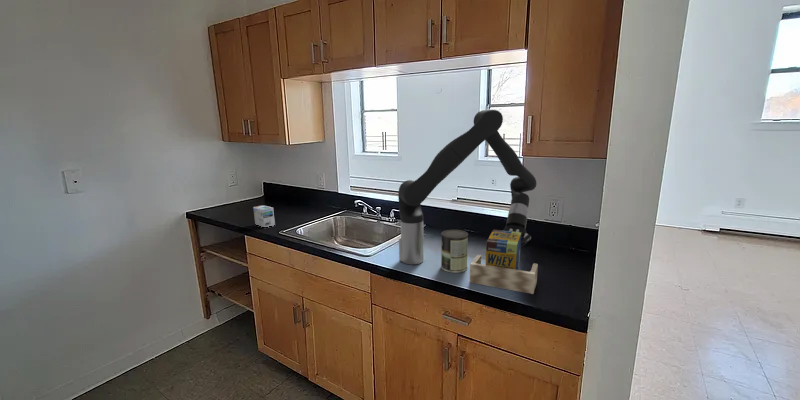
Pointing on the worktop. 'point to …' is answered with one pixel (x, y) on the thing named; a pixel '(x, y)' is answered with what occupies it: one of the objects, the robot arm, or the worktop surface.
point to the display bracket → (503, 276)
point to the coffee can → (454, 250)
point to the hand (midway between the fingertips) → (510, 255)
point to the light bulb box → (264, 216)
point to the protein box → (503, 249)
